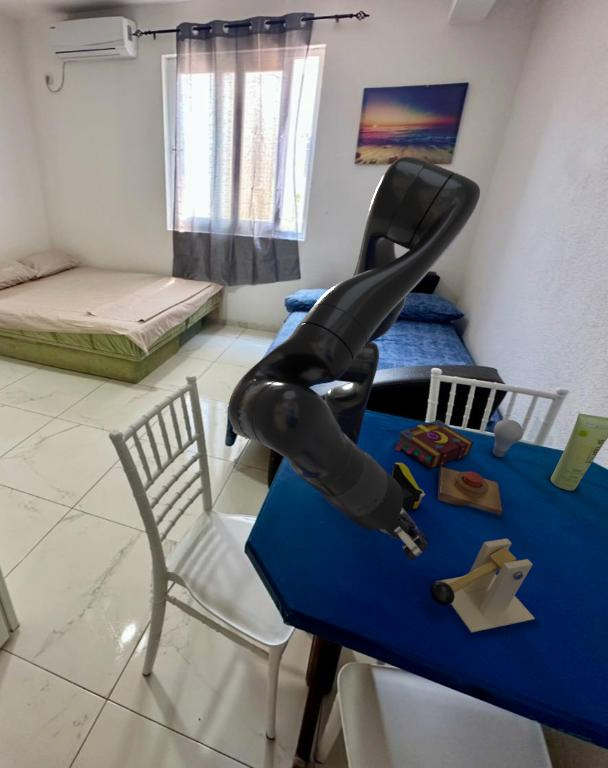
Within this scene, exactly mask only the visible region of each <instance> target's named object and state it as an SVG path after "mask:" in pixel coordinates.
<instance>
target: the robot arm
mask: <svg viewBox="0 0 608 768" xmlns="http://www.w3.org/2000/svg"><path fill="white" fill-rule="evenodd" d="M480 198H481V188H480V185H479V184H478V183H477V182H475V180H472V179H471V178H470V177H469V178H468V177H467V176H465V175H462V174H460V173H458V172H455V171H452V170H450V169H447V168H444V167H443V166H440V165H437V164H434V163H433V162H430V161H427V160H424V159H422V158H418V157H414V156H409V155H408V156H401V157H399V158H398V159H395V160H394V161H393V162H392V163H391V164H390V165H389V166H388V168H387V169H386V170H385V172H384V173H383V175H382V177H381V178H380V181H379V183H378V184H377V186H376V189H375V192H374V194H373V196H372V199H371V203H370V206H369V208H368V211H367V212H368V213H367V217H366V221H365V225H364V230H363V235H362V241H361V245H360V250H359V255H358V259H357V263H356V266H355V269H354V272H353V274H352V276H351V277H348V278H346V279H344V280H342V281H340V282H339V283H337V284H335V285H334V286H332V287H331V288H329V289H328V290H326V291H325V292H324V293H323V294H322V295H321V296H320V298H319V299H317V300H316V302H315V303H314V305H313V306H312V307H311V308H310V310H309V311H308V312H307V313H306V315H305V316H304V317H303V318H302V319H301V321H300V322H299V324H297V326H296V328H295V329H294V330H293V332H292V333H291V335H289V336H288V338H287V339H285V340H284V341H283V342H282V343H280V344H279V345H278V346H276V347H275V348H273V349H272V350H271V351H270V352H268V354H266V355H265V356H264V357H263V358H262V359H261V360H259V361H258V362H257V363H256V364H254V365H253V366H252V367H251V368H250V369H248V371H247V372H246V373H245V374H244V375H243V376H242V377H241V379H240V380H239V381H238V382H237V384H236V385H235V387H234V389H233V391H232V392H231V395H230V398H229V401H228V407H227V417H228V420H229V423H230V425H231V427H232V428H233V429H234V431H235V432H236V433H238V434H239V435H241V436H242V437H244V438H246V439H248V440H251V441H252V442H255V443H257V444H260V445H261V446H264V447H266V448H269V449H270V450H273V451H274V452H275V453H278V454H279V455H280V456H282V457H284V458H285V459H287V460H288V463H289V465H290V467H291V468H292V470H293V471H294V472H295V474H296V475H298V477H299V478H301V480H303V481H304V482H305V483H307V484H308V485H309V486H311V487H312V488H313V489H314V490H315V491H317V492H318V493H319V494H320V495H321V497H322V498H324V500H325V501H326V502H327V503H328V504H329V505H330V506H332V507H333V508H335V510H337V511H338V512H340V514H342V515H343V516H345V517H346V518H347V519H348V520H349V521H351V522H352V523H353V524H355V525H356V526H357V527H359V528H361V529H364V530H369V531H377V530H378V531H381V532H382V533H383V534H385V535H386V534H387V535H389V536H390V537H391V538H392V539H393V540H395V541H396V540H401V542H403V543H404V544H403V545H402V546H401V548H402V549H403V552H404V554H405V556H406V558H407V559H409V560H410V561H413V560H415V559H416V558H417V557H419V556H420V555H421V554H423V553H424V552H426V551H427V550H428V549H429V546H428V542H429V539H428V537H427V536H426V535H425V534H424V532H423V531H422V530H421V529H419V527H418V526H417V523H416V522H415V521H414V520H413V519H412V517H411V516H410V514H409V513H408V511H405V510H404V508H403V507H402V506H403V492H402V489H401V487H400V485H399V484H398V482H397V481H396V480H395V479H394V478H393V477H392V474H390V473H389V472H388V471H387V470H386V469H385V468H384V467H383V466H381V464H379V462H378V461H377V460H376V459H374V457H372V455H371V454H369V453H368V452H367V451H365V450H363V449H362V448H360V447H359V446H358V444H359V439H360V435H361V431H362V427H363V422H364V418H365V414H366V410H367V404H368V403H369V400H370V399H369V398H370V394H371V391H372V387H373V383H374V380H375V377H376V375H377V371H378V368H379V367H378V366H379V361H380V349H379V346H378V344H377V343H376V342H374V341H376V340H377V339H379V338H381V337H383V336H384V335H385V334H387V333H388V332H389V331H390V330H391V329H392V327H393V326H394V325H395V323H396V321H397V319H398V318H399V316H400V314H401V312H402V311H403V309H404V306H405V303H406V301H407V300H406V299H407V295H409V294H410V293H411V291H412V290H414V288H415V287H416V286H418V284H419V283H420V282H421V281H422V280H423V279H424V278H425V276H426V275H427V274H428V273H429V272H430V271H431V270H432V269H433V268H434V266H435V265H436V264H437V263H438V262H439V261H440V260H441V259H442V257H443V256H444V255H445V254H446V253H447V252H448V250H449V249H450V248H451V247H452V246H453V245H454V243H455V242H456V241H457V239H458V238H459V236H461V234H462V232H463V231H464V230H465V228H466V226H467V225H468V223H469V221H470V220H471V218H472V216H473V214H474V213H475V211H476V209H477V206H478V204H479V202H480ZM395 245H398V246H400V247H402V248H404V249H407V251H406V252H405V253H403V254H402V255H400V256H398V257H397V253H396V246H395ZM333 382H344V383H345V384H343V385H337V386H334V387H331V388H330V389H328V390H327V392H326V393H325V396H324V398H323V397H322V396H321V395H320V394H318V393H317V392H316V391H315V390H314V389H312V387H314V386H317V385H323V384H329V383H333Z"/></svg>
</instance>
